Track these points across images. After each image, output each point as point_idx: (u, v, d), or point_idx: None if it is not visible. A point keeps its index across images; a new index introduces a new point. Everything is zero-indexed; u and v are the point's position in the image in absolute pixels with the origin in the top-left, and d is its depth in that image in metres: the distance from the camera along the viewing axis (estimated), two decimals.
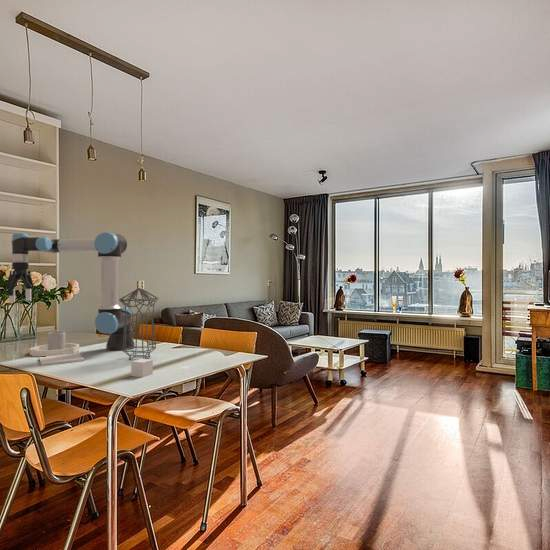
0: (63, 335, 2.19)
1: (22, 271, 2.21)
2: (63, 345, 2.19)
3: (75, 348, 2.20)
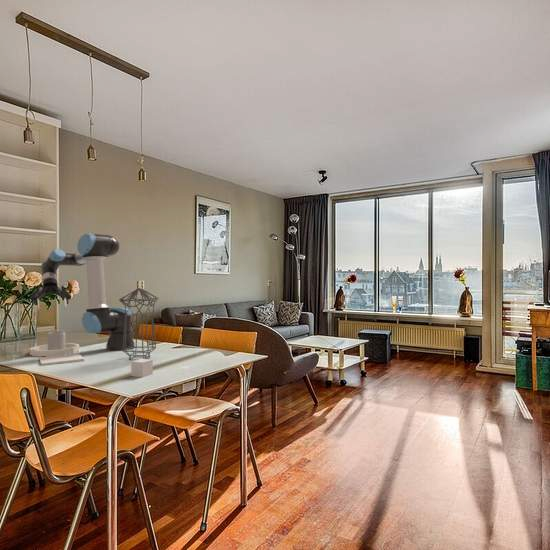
0: (63, 335, 2.19)
1: (50, 286, 2.39)
2: (63, 345, 2.19)
3: (75, 348, 2.20)
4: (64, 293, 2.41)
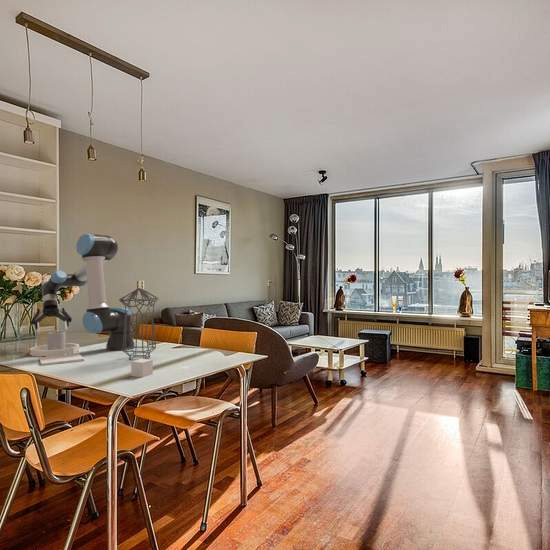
0: (63, 335, 2.19)
1: (51, 308, 2.35)
2: (63, 345, 2.19)
3: (75, 348, 2.20)
4: (65, 315, 2.37)
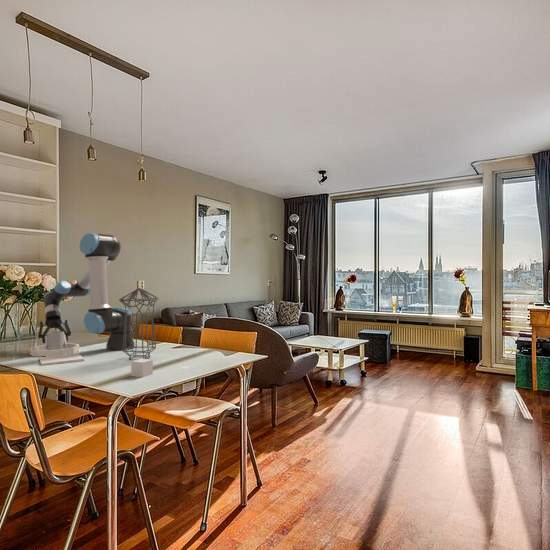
0: (62, 335, 2.19)
1: (53, 320, 2.28)
2: (62, 345, 2.19)
3: (75, 348, 2.20)
4: (66, 328, 2.29)
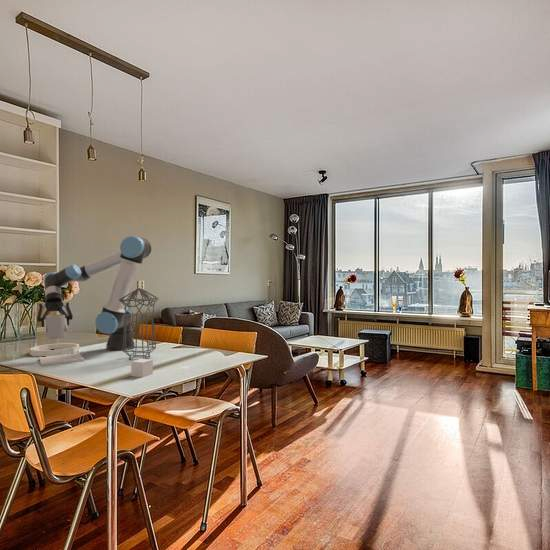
0: (62, 318, 2.01)
1: (54, 302, 2.10)
2: (62, 329, 2.01)
3: (75, 348, 2.20)
4: (67, 311, 2.11)
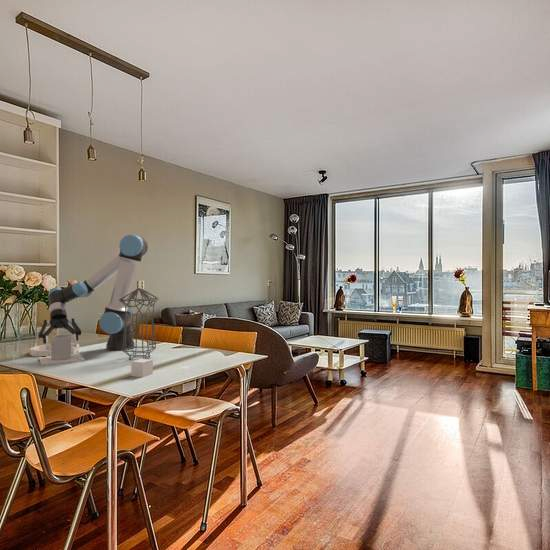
0: (68, 339, 1.98)
1: (59, 319, 2.07)
2: (68, 350, 1.97)
3: (75, 348, 2.20)
4: (74, 327, 2.08)
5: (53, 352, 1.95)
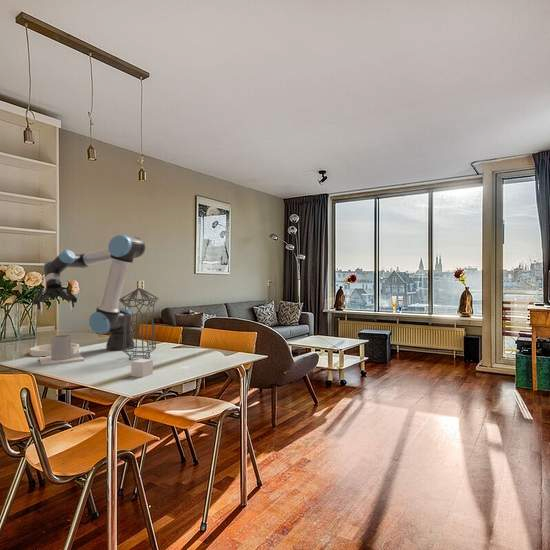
0: (68, 339, 1.98)
1: (54, 288, 2.18)
2: (68, 350, 1.97)
3: (75, 348, 2.20)
4: (69, 295, 2.20)
5: (53, 352, 1.95)
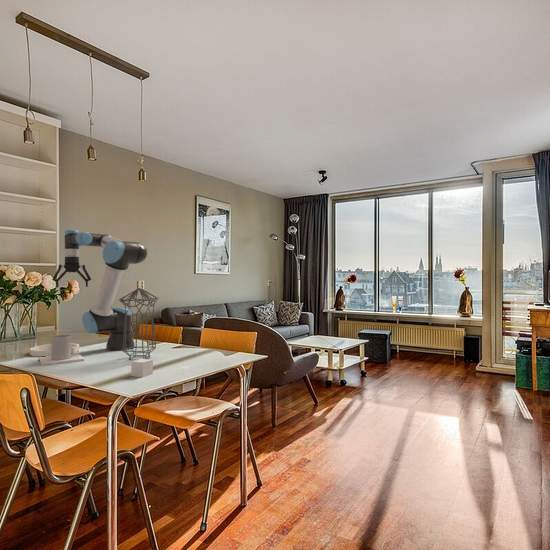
0: (68, 339, 1.98)
1: (72, 265, 2.37)
2: (68, 350, 1.97)
3: (75, 348, 2.20)
4: (85, 273, 2.42)
5: (53, 352, 1.95)
